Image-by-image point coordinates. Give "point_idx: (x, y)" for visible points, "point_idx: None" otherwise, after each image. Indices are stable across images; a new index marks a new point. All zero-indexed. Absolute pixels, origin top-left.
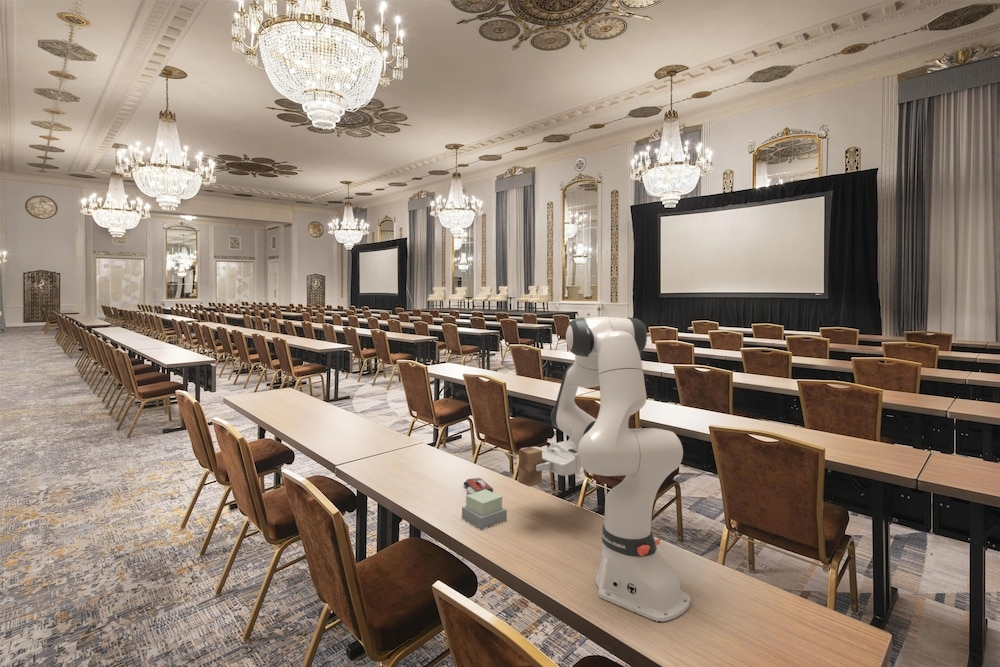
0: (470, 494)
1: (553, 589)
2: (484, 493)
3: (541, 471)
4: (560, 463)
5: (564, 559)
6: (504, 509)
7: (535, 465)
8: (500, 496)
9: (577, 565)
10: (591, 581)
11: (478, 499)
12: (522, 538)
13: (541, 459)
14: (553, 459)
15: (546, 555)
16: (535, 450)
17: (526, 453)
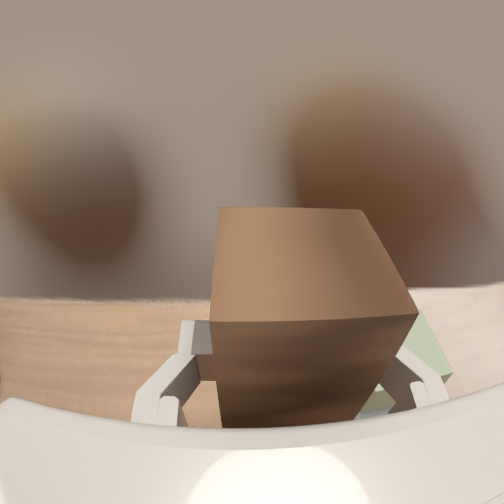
0: (424, 320)
1: (49, 314)
2: (421, 355)
3: (222, 426)
4: (18, 404)
5: (70, 401)
6: (355, 418)
7: (206, 321)
8: (380, 387)
9: (39, 398)
10: (5, 368)
11: None
12: (215, 409)
13: (216, 376)
14: (121, 458)
15: (110, 389)
16: (269, 277)
17: (266, 215)
